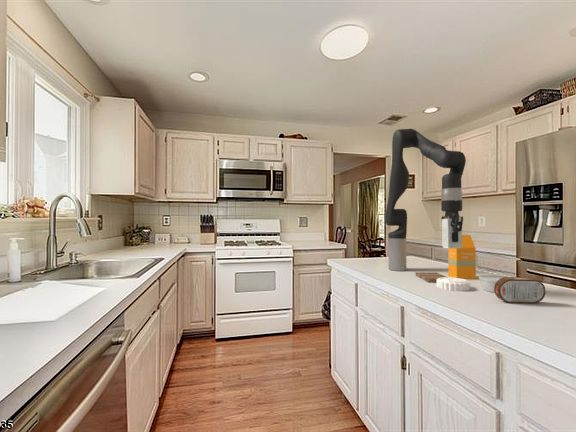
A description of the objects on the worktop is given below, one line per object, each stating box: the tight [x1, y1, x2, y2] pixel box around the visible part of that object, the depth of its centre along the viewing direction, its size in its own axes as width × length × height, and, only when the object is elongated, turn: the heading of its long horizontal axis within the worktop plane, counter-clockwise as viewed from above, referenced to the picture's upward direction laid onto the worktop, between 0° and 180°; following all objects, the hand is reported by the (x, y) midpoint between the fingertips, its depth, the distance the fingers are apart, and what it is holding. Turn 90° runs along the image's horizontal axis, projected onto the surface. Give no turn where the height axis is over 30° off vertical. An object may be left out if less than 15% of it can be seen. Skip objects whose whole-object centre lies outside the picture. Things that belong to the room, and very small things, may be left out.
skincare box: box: [441, 218, 463, 250], centre depth 123 cm, size 6×4×12 cm
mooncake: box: [436, 276, 471, 292], centre depth 123 cm, size 12×12×4 cm
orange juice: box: [447, 234, 477, 280], centre depth 143 cm, size 8×9×20 cm
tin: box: [494, 276, 546, 304], centre depth 101 cm, size 15×3×8 cm, turn 84°
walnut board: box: [415, 271, 447, 284], centre depth 140 cm, size 16×10×2 cm, turn 176°
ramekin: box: [478, 274, 506, 294], centre depth 117 cm, size 11×11×5 cm
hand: (451, 241), depth 123 cm, fingers closed on skincare box, 4 cm apart
